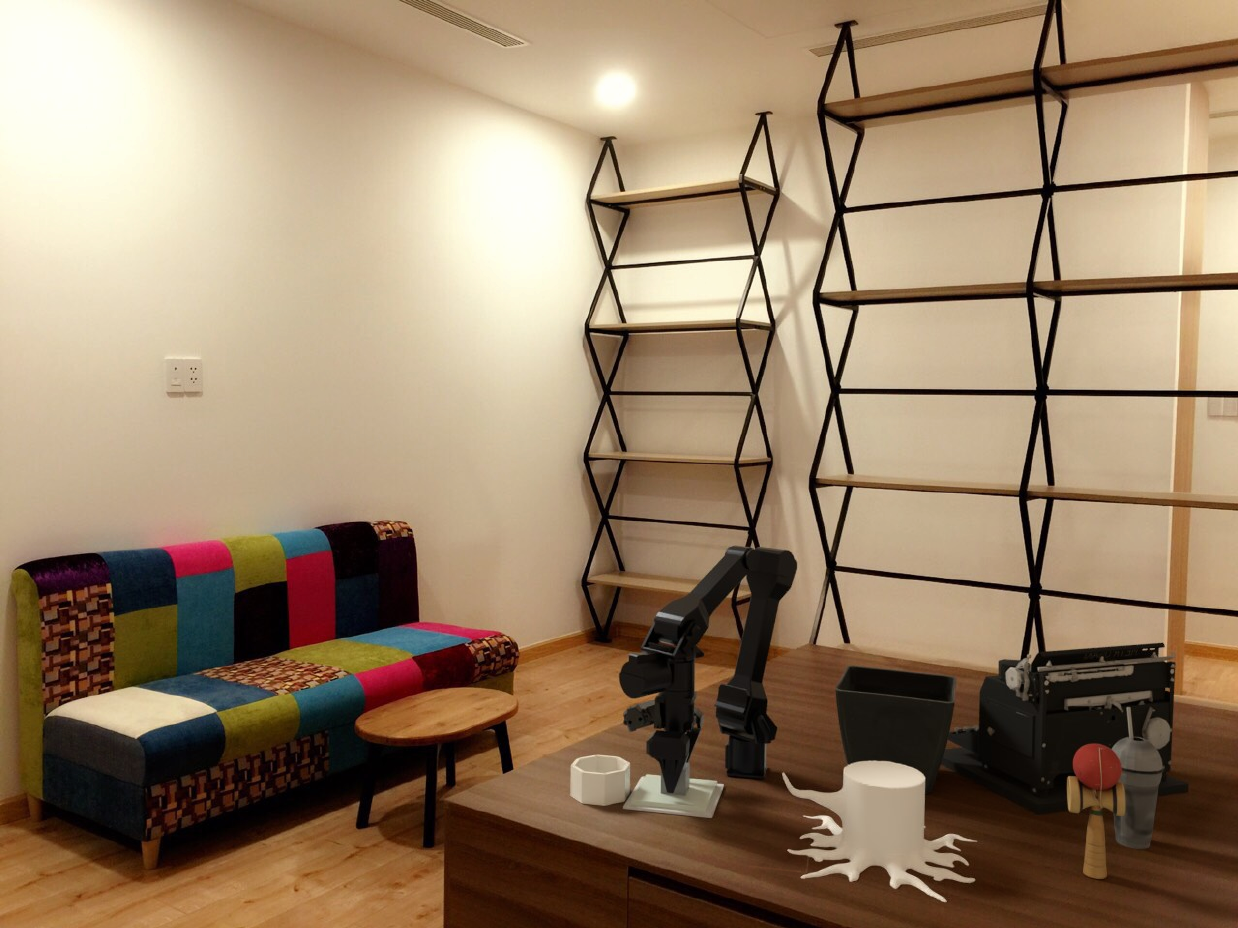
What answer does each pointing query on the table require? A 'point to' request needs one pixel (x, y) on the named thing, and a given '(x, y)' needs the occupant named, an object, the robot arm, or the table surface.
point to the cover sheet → (675, 801)
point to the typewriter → (1064, 720)
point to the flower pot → (895, 717)
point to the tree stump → (879, 826)
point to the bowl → (600, 780)
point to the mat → (675, 811)
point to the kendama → (1096, 799)
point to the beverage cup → (1137, 789)
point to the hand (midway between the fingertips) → (675, 782)
